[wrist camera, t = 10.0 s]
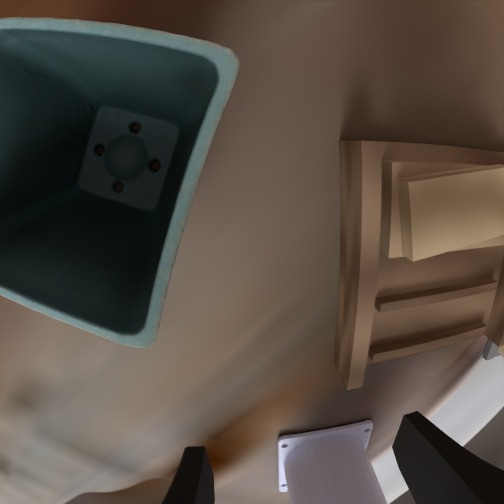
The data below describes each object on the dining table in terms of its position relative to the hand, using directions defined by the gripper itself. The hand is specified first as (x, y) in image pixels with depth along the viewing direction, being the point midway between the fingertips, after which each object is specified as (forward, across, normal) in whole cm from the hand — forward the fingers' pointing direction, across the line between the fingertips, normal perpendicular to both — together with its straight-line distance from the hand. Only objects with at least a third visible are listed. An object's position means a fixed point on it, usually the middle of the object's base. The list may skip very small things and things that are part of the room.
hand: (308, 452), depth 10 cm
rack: (+10, -11, -3) cm, 15 cm away
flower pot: (+10, +7, -10) cm, 16 cm away
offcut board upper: (+8, -10, -7) cm, 15 cm away
